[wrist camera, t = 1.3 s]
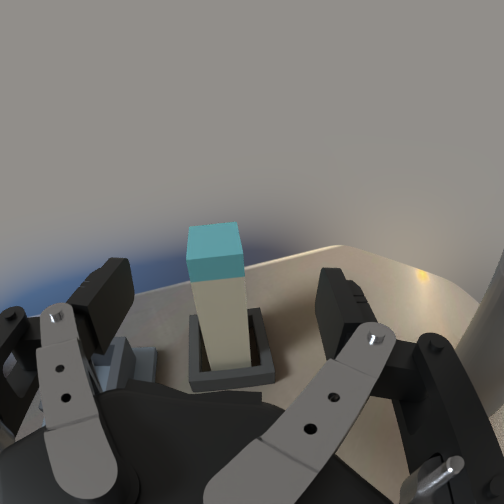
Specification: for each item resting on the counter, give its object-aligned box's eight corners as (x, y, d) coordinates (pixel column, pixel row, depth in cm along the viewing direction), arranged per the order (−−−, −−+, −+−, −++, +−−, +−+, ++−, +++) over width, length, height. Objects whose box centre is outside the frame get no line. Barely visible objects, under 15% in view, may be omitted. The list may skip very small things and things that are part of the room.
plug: (245, 334, 32) (236, 221, 25) (251, 370, 28) (243, 253, 21) (210, 338, 32) (189, 226, 25) (212, 374, 28) (186, 259, 20)
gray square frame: (260, 319, 34) (259, 307, 33) (274, 383, 27) (275, 372, 26) (192, 327, 34) (189, 315, 33) (193, 392, 26) (188, 381, 25)
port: (157, 352, 30) (146, 324, 28) (151, 452, 20) (133, 433, 18) (68, 354, 29) (51, 328, 27) (45, 439, 19) (20, 418, 17)
